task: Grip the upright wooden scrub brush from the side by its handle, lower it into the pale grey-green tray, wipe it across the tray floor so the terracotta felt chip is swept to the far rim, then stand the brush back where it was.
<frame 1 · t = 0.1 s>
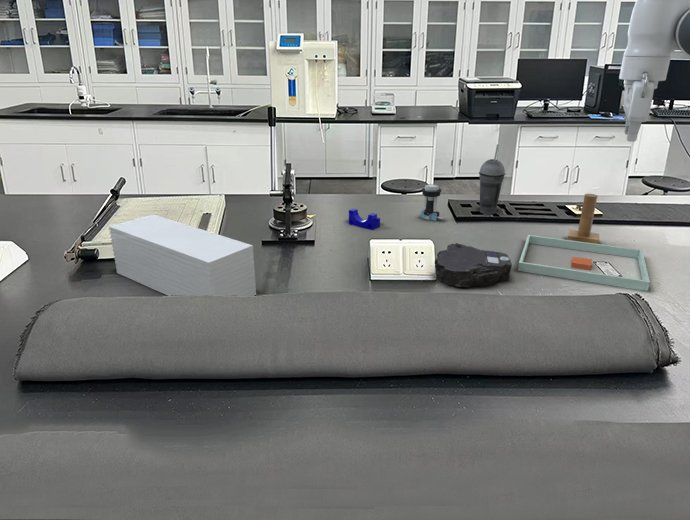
hand: (629, 137, 117), 27 cm above the countertop, tool pointing down, fingers open, 8 cm apart
rock sample: (469, 276, 115), on the countertop
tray: (580, 266, 119), on the countertop
brush: (581, 246, 131), on the countertop
cable holder: (364, 226, 145), on the countertop
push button: (431, 221, 149), on the countertop
felt chip: (580, 265, 118), point 1 cm above the countertop, touching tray
stack of papers: (183, 284, 110), on the countertop
beverage cup: (487, 212, 157), on the countertop
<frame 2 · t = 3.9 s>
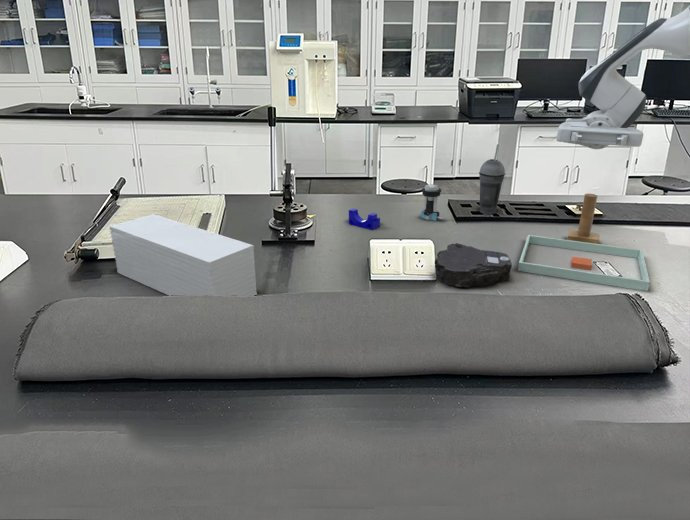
hand: (598, 140, 132), 24 cm above the countertop, tool horizontal, fingers open, 8 cm apart
nothing on the countertop moved.
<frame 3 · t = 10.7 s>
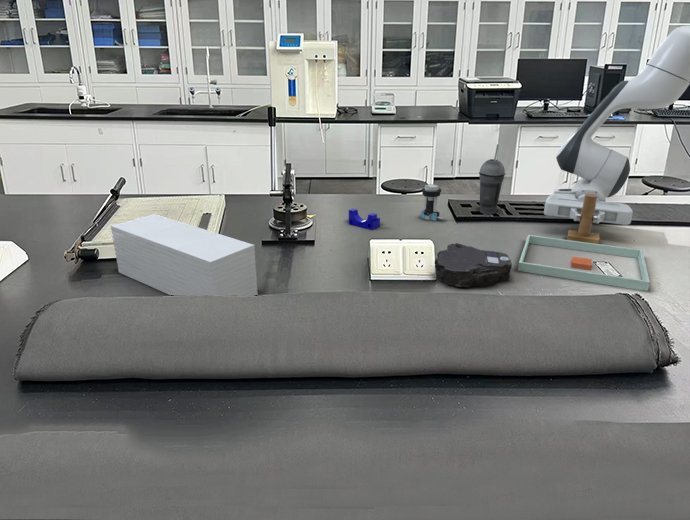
hand: (586, 219, 128), 7 cm above the countertop, tool horizontal, fingers closed on brush, 3 cm apart
brush: (581, 246, 131), on the countertop, touching gripper
everything else where it was.
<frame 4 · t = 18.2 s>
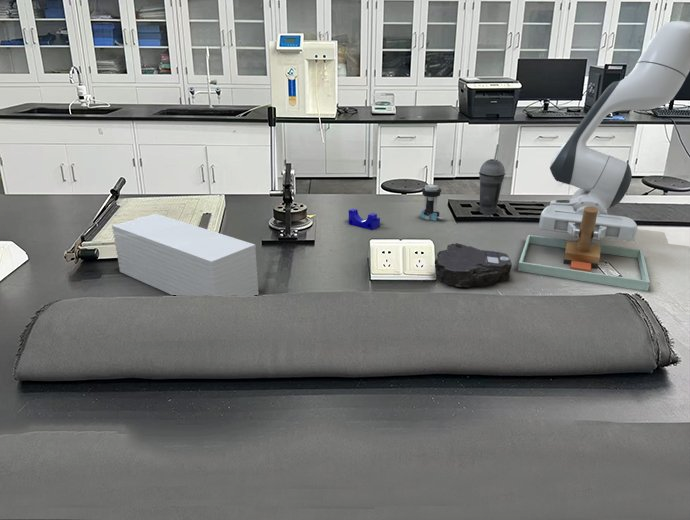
hand: (586, 235, 115), 8 cm above the countertop, tool horizontal, fingers closed on brush, 3 cm apart
brush: (580, 260, 120), point 1 cm above the countertop, tilted 11°, touching felt chip, gripper
felt chip: (580, 269, 116), point 1 cm above the countertop, touching brush, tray
everything else where it was.
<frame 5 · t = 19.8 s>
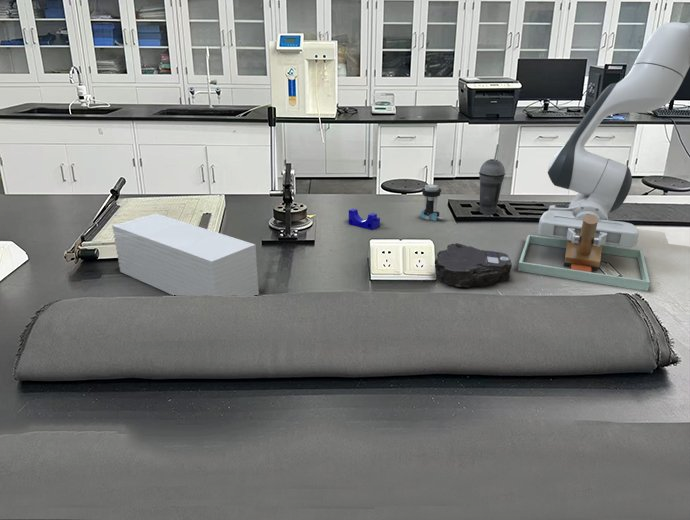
hand: (586, 241, 112), 8 cm above the countertop, tool horizontal, fingers closed on brush, 3 cm apart
brush: (581, 259, 118), point 2 cm above the countertop, tilted 29°, touching felt chip, gripper
felt chip: (580, 273, 114), point 1 cm above the countertop, touching brush, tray
everything else where it was.
when the fingers open (7 cm above the countertop, at t = 27.3 s): brush drops 1 cm, on the countertop.
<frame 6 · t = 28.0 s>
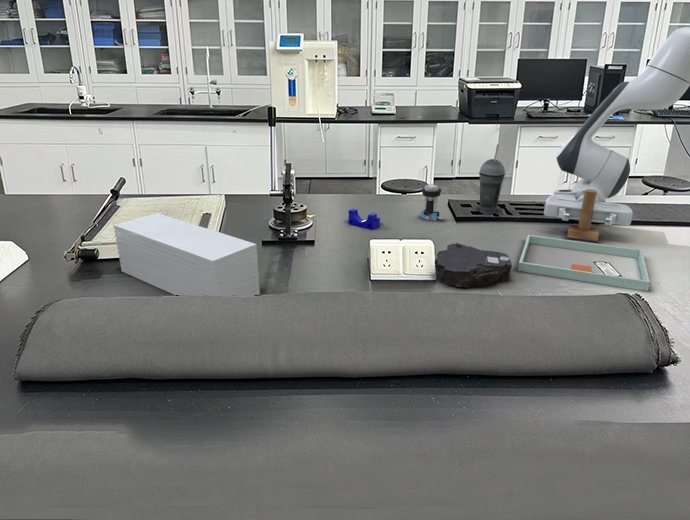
hand: (586, 220, 128), 7 cm above the countertop, tool horizontal, fingers open, 8 cm apart
brush: (581, 240, 135), on the countertop
felt chip: (580, 273, 114), point 1 cm above the countertop, touching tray
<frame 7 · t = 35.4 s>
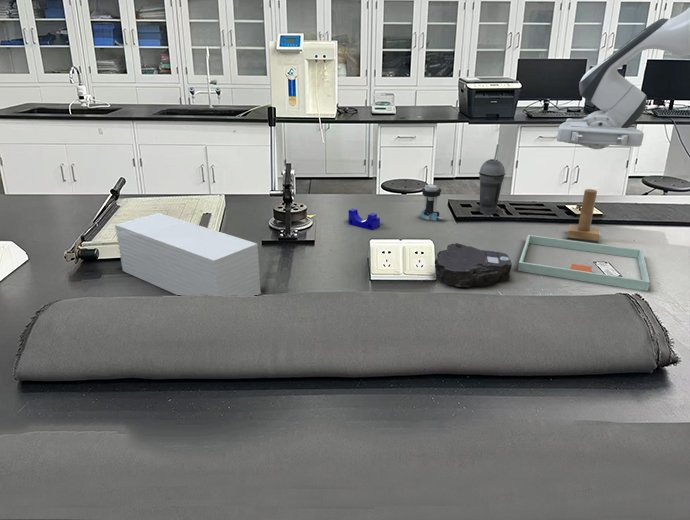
hand: (599, 140, 132), 24 cm above the countertop, tool horizontal, fingers open, 8 cm apart
at the end: felt chip inside the target area (1.4 cm from its centre), point 0.6 cm above the countertop; brush tilted 0°; brush inside the target area (2.8 cm from its centre), on the countertop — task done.
